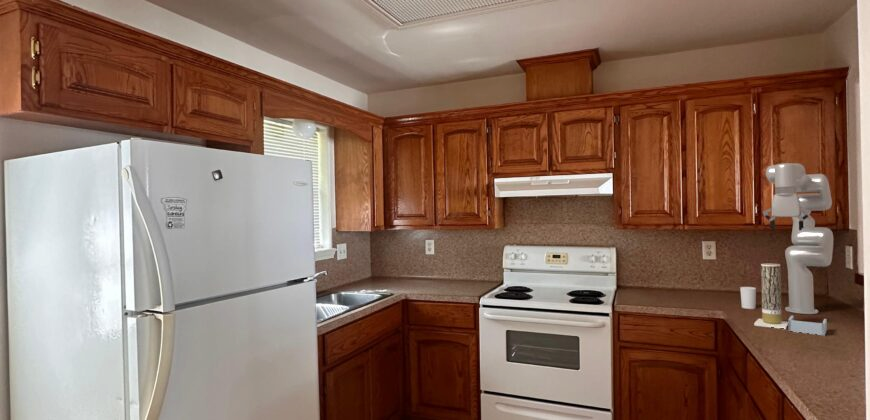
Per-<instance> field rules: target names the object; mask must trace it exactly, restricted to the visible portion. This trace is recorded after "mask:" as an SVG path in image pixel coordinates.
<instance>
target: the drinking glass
mask: <svg viewBox="0 0 870 420" xmlns="http://www.w3.org/2000/svg"><path fill="white" fill-rule="evenodd" d="M739 288H740V289H739V291H740V300H741V301H740V303H741V308H742V309H747V310H755V309H756V305H757V304H756V302H757V301H756V300H757V299H756V297H757V288H756V287H754V286H753V287H752V286H740V287H739Z"/></svg>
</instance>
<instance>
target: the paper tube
mask: <svg viewBox="0 0 870 420" xmlns="http://www.w3.org/2000/svg"><path fill="white" fill-rule="evenodd" d="M760 275H761V276H760V278H761V281H760V282H761V314H762V315H761V316H762V317H761V319H762V320H763V321H764V322H766V323H772V324H779V323H781V322H782V321H783V319H782V283H781V281H782V279H781V276H782V275H781V264H780V263H770V262H769V263H766V262H765V263H760Z"/></svg>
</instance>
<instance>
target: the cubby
mask: <svg viewBox="0 0 870 420" xmlns="http://www.w3.org/2000/svg"><path fill="white" fill-rule="evenodd" d="M787 322H788V327H787V329H788V332H790V331H793V332H792V333H799V332H802V334H807V333H809V335H815V334H817V335H816V336H826V335H827V334H826V333H827V331H828V322H827V318H824V319H823V321H822V323H820V322H813V321H803V320H802V321H801V320H796V319H795V318H794V315H790V316H789V318H788V320H787ZM825 334H826V335H825Z"/></svg>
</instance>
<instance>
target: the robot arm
mask: <svg viewBox="0 0 870 420" xmlns="http://www.w3.org/2000/svg"><path fill="white" fill-rule="evenodd" d="M805 168H806V167H804V165H803V164H801V163H797V162H796V163H792V162H791V163H790V162H785V163H777V164H771V165H769V166H767V168H766V170H765V177H766V180H767V181H768V182H769V183H770V184H772V185H774V191H775V192H774V194H773V196H772V203H771V207H770V208H768V209H766V210H763V211H762V214H763V216H764V218H766V220H768V221H769V223H770V224H769V226H770V229H771V230H772V231H775V230H776V222H775V219H776V218H791V219H792V231H791V243H792V244H793V245H790V246H788V247H787V248H786V249H785V251H784V255H785V260H786V261H785V262H786V266H787V279H788V282H787V283H788V306H786V307H785V308H784V310H785V311H786V312H789V313H793V314H800V315H801V314H804V315H815V314H818V313H819V310H818V309H816V308H815V306H814V305H815V303H814V302H815V298H814V296H815V295H814V275H813V273H812V271H811V270H809V268H807V267H820V268H821V267H824V268H825V267H828V266H830V265H831V263H832V260H833V252H834V234H833V231H832V230H831V229H830V228H829V227H819V226H817V227H815V225H816V220H815V219H814V218H813V216H811V215H810V214H811V213H812V211H827V210H830V208H831V207H832V205H833V200H832V196H831V189H830V183H829V180H828V177H827V176H826V175H825V174H823V173H814V174H806V169H805ZM811 192H812V193H811ZM770 212H771V214H772V216H770V215H769V214H768V213H770Z"/></svg>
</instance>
